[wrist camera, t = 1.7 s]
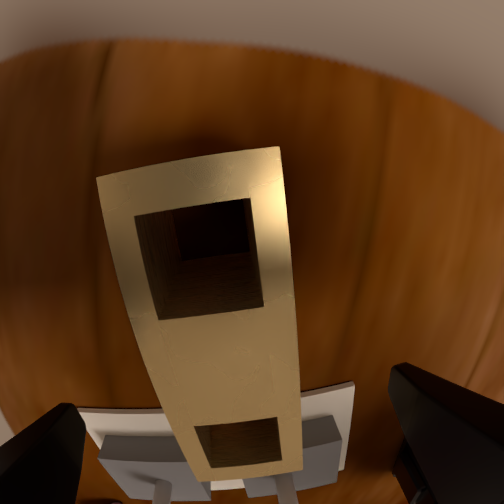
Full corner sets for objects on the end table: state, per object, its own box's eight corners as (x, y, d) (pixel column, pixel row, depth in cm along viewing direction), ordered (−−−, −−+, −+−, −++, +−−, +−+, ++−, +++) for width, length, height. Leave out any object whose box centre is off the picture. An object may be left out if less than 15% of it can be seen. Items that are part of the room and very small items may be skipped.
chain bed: (352, 381, 15) (398, 469, 9) (342, 465, 18) (366, 533, 12) (77, 407, 15) (42, 487, 9) (130, 484, 17) (118, 550, 11)
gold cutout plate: (146, 169, 11) (96, 177, 7) (257, 152, 12) (279, 146, 7) (201, 406, 15) (198, 481, 10) (284, 395, 15) (302, 469, 10)
